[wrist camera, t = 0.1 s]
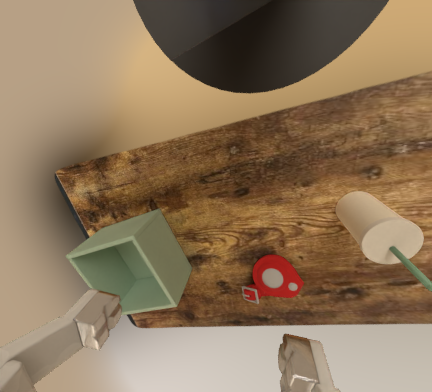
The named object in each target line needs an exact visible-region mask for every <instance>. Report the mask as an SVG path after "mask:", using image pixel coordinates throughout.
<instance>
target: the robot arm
mask: <svg viewBox="0 0 432 392" xmlns="http://www.w3.org/2000/svg"><path fill="white" fill-rule="evenodd" d="M120 300H121V299H120V295H116V294H112V293H108V292H104V291H101V290H96V289H92V288H91V289H89V290H88V291H87V292H86V293H85V294H84V295H83V296H82V297H81V298H80V299H79V300H78V301H77V302H76V303H75V304H74V305H73V306H72V308H71V309H70V310H69V311H68V312H67V313H66V314H65V315H64V316H63V317H58V318H56V319H54V320H53V321H50V322H49V323H47V324H45V325H43V326H41V327H39V328H37V329H35V330H33V331H31V332H29V333H27V334H26V335H24V336H22V337H20V338H18V339H16V340H14V341H12V342H10V343H8V344H7V345H5V346H2V347H0V392H37V391H36V389H35V387H34V386H33V385H34V384H35V383H37V382H38V381H39V380H41V379H42V378H43V377H45V376H46V375H47V374H49V373H50V372H51V371H52V370H54V369H55V368H57V367H58V366H59V365H61V364H62V363H63V362H64V361H66V360H67V359H68V358H70V357H71V356H72V355H73V354H75V353H76V352H78V351H79V350H80V349H82V348H83V347H87V348H91V349H96V350H100V349H101V347H102V346H103V344H104V343H105V341H106V340H107V338H108V337H109V330H111V329H112V328H114V327H115V326H116V324H117V323H118V321H119V319H120V316H121V313H122V306H121V305H120V304H119V302H120ZM82 346H83V347H82ZM278 363H279V369H280V371H281V373H282V377H281V380H280V385H281V392H340V390H339V389H336V388H335V387H334V384H333V380H332V377H331V374H330V370H329V367H328V363H327V360H326V357H325V353H324V350H323V346H322V344H321V343H320V342H319V341H315V340H311V339H307V338H303V337H299V336H294V335H289V334H284V336H283V343H282V344H280V348H279V355H278Z"/></svg>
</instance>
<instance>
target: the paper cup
mask: <svg viewBox="0 0 432 392" xmlns="http://www.w3.org/2000/svg"><path fill="white" fill-rule="evenodd" d="M335 211H336V215H337V217H338V218H339V220H340V221H341V222H342V223H343V225H344V226H345V227H346V229H347V230H348V231H349V233H350V234H351V235H352V236H353V238H354V239H355V240H356V242H357V243H358V244H359V246H360V249H361V251H362V252H363V253H364V255H365V256H366V257H367V258H368V259H370V260H372V261H374V262H376V263H380V264H395V263H400V262H402V263H403V264H404V265H405V266H406V267H407V269H408V270H409V271H410V272H411V273H412V274H413V275H414V276H415V277H416V278H417V279H418V280H419V281H420V282H421V283H422V284H423V285H424V286H425V287H426V288H427V289H428V290H429V291H432V282H431V281H430V280H429V279H428V278H427V277H426V276H425V275H424V274H423V273H422V272H421V271H420V270H419V269H418V268H417V267H416V266H415V265H413V264H412V263H411V262H410V261H409V260H408V259H409V258H411V257H413V256H414V255H415V254H416V253H417V252H418V251H419V250H420V248H421V247H422V244H423V240H424V237H423V233H422V231H421V229H420V228H419V227H418V226H417V225H415V224H414V223H413V222H411V221H409V220H407V219H405V218H403V217H401V216H400V215H398V214H397V213H396V212H394V211H393V210H391V209H390V208H389V207H387V206H386V205H385V204H383V203H382V202H380V201H379V200H378V199H376V198H375V197H374V196H372V195H371V194H369V193H367V192H363V191H355V192H351V193H348V194H346V195H345V196H343V197H342V198H341V199H340V200H339V201H338V203H337V205H336V209H335Z"/></svg>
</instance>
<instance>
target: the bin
mask: <svg viewBox="0 0 432 392" xmlns="http://www.w3.org/2000/svg"><path fill="white" fill-rule="evenodd" d="M66 257H67V259H68V260H69V261H70V262H71V264H72V265H73V266H74V267H75V269H76V270H77V271H78V273H79V274H80V276H81V277H82V278H83V280H84V281H85V282H86V283H87V285H88V286H89V287H90V289H91V288H92V289H96V290H101V291H104V292H108V293H112V294H116V295H120V299H121V300H120V302H119V304H120V305H121V306H122V313H121V315H127V314H133V313H139V312H146V311H152V310H159V309H165V308H171V307H177V306H178V303H179V301H180V298H181V296H182V293H183V291H184V288H185V286H186V283H187V281H188V278H189V276H190V273H191V271H192V267H191V265H190V263H189V262H188V260H187V258H186V256H185V254H184V252H183V251H182V249H181V247H180V245H179V243H178V241H177V240H176V238H175V236H174V234H173V232H172V230H171V229H170V227H169V225H168V223H167V221H166V220H165V218H164V216H163V214H162V212H161V210H160V209H157V210H154V211H151V212H148V213H145V214H142V215H139V216H136V217H133V218H130V219H127V220H125V221H122V222H119V223H116V224H113V225H110V226H107V227H104V228H102V229H101V230H99V231H98V232H96V233H95V234H94V235H93V236H91V237H90V238H89V239H87V240H86V241H85V242H83V243H82V244H81V245H80V246H78V247H77V248H75V249H74V250H73V251H72V252H70V253H69V254H68V255H66Z"/></svg>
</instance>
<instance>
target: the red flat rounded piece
mask: <svg viewBox="0 0 432 392" xmlns="http://www.w3.org/2000/svg"><path fill="white" fill-rule="evenodd" d="M253 280H254V282H255V284H251V285H248V286H246V287H245V286H242V291H243V293H242V295H243V296H244V300H247V301H251V302H254V303H257V304H259V299H260V298H261V296H275V297H286V298H292V297H294V296H296V295H298V293H299V291H300V289H301V288H302V286H303V284H304V282H303V281H302V280H301V278H300V277H299V275H298V273H297V271H296V270H295V269H294V267H293V266H292V265H291V264H290V263H289V262H288V261H287V260H286V259H285V258H283V257H281V256H279V255H266V256H263V257H261V258H260V259H259V260H258V261H257V262H256V264H255V265H254V268H253Z"/></svg>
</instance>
